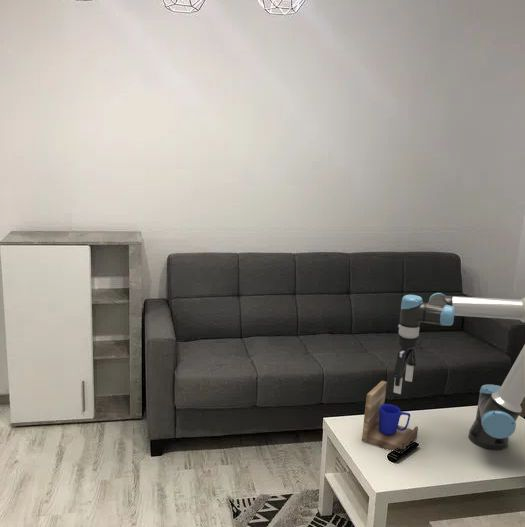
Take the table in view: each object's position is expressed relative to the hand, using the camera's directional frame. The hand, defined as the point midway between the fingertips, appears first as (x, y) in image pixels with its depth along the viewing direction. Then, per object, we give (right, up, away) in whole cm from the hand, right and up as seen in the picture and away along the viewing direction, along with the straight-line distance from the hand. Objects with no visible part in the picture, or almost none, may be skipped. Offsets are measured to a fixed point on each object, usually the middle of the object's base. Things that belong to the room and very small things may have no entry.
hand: (402, 386), depth 239 cm
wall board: (-11, -21, +9) cm, 25 cm away
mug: (-3, -19, +4) cm, 20 cm away
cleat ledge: (-4, -22, +5) cm, 23 cm away
